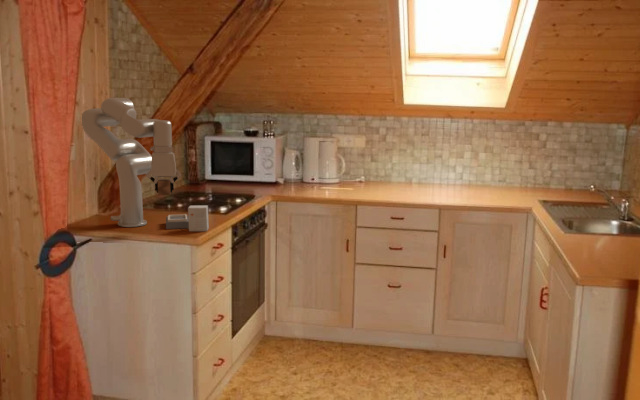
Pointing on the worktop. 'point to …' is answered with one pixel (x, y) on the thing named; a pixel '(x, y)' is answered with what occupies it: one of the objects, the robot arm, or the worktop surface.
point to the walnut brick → (164, 187)
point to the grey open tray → (177, 221)
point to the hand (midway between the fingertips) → (164, 191)
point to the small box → (198, 218)
